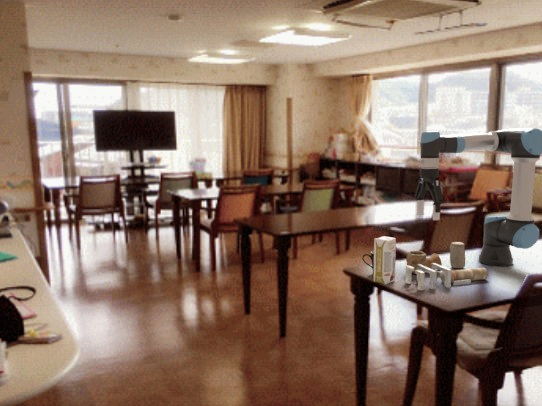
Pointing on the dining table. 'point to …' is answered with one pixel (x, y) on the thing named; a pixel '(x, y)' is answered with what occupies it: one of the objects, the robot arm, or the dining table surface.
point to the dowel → (466, 274)
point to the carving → (457, 255)
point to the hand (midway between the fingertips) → (427, 217)
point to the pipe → (422, 260)
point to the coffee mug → (371, 259)
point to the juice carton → (384, 259)
